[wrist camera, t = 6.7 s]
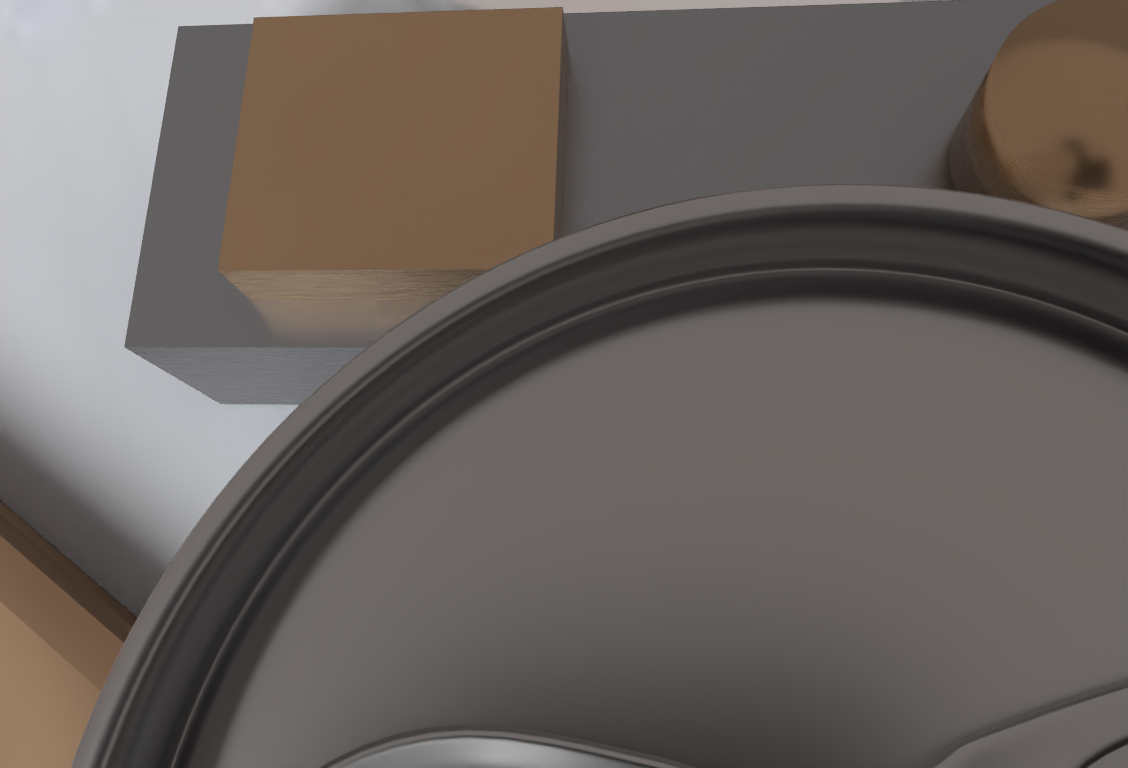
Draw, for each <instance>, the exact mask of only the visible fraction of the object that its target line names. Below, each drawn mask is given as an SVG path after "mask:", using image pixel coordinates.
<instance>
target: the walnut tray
mask: <svg viewBox="0 0 1128 768" xmlns="http://www.w3.org/2000/svg"><path fill="white" fill-rule="evenodd" d="M136 620H137V618H136V617H135V616H134V615H133V614H132V613H131V612H129V611H128V610H127V609H126V608H125V607H124V606H122V605H121V604H120V603H119V602H118V601H117V600H115V599H114V598H113V597H112V596H111V595H110V594H108V593H107V592H106V591H105V590H104V589H103V588H101V587H100V586H99V585H98V584H97V583H96V582H94V581H93V580H92V579H91V578H90V577H89V576H87V575H86V574H85V573H84V572H83V571H82V570H80V569H79V568H78V567H77V566H76V565H75V564H73V563H72V562H71V561H70V560H69V559H68V558H66V557H65V556H64V555H63V554H62V553H61V552H59V551H58V550H57V549H56V548H55V547H54V546H52V545H51V544H50V543H49V542H48V541H47V540H45V539H44V538H43V537H42V536H41V535H40V534H38V533H37V532H36V531H35V530H34V529H33V528H31V527H30V526H29V525H28V524H27V523H26V522H24V521H23V520H22V519H21V518H20V517H19V516H17V515H16V514H15V513H14V512H13V511H12V510H10V509H9V508H8V507H7V506H6V505H5V504H3V503H2V502H1V501H0V768H71V765H72V762H73V760H74V757H75V754H76V751H77V748H78V746H79V743H80V741H81V738H82V736H83V733H84V731H85V728H86V726H87V723H88V721H89V718H90V716H91V713H92V711H93V708H94V706H95V704H96V702H97V699H98V697H99V695H100V693H101V691H102V688H103V686H104V684H105V682H106V679H107V677H108V675H109V673H110V671H111V668H112V666H113V664H114V662H115V660H116V658H117V656H118V654H119V652H120V650H121V648H122V646H123V645H124V643H125V641H126V639H127V637H128V635H129V633H130V631H131V629H132V627H133V625H134V623H135V622H136Z"/></svg>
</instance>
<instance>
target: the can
mask: <svg viewBox="0 0 1128 768" xmlns="http://www.w3.org/2000/svg"><path fill="white" fill-rule="evenodd" d="M71 768H1128V230H1126V229H1123V228H1120V227H1117V226H1113V225H1110V224H1107V223H1104V222H1101V221H1097V220H1094V219H1091V218H1087V217H1083V216H1080V215H1076V214H1072V213H1068V212H1065V211H1061V210H1057V209H1053V208H1049V207H1044V206H1040V205H1035V204H1031V203H1026V202H1022V201H1017V200H1012V199H1006V198H1000V197H995V196H989V195H984V194H977V193H970V192H963V191H955V190H948V189H938V188H928V187H917V186H904V185H885V184H813V185H794V186H781V187H769V188H760V189H752V190H744V191H736V192H728V193H723V194H717V195H711V196H705V197H699V198H694V199H689V200H684V201H680V202H675V203H671V204H666V205H661V206H658V207H654V208H650V209H646V210H642V211H639V212H635V213H631V214H627V215H624V216H621V217H618V218H614V219H611V220H608V221H605V222H602V223H598V224H595V225H592V226H590V227H587V228H584V229H581V230H579V231H576V232H573V233H570V234H568V235H565V236H562V237H560V238H557V239H555V240H552V241H550V242H548V243H545V244H543V245H540V246H538V247H535V248H533V249H531V250H528V251H526V252H524V253H522V254H520V255H518V256H516V257H513V258H511V259H509V260H507V261H505V262H503V263H501V264H499V265H496V266H495V267H493V268H491V269H489V270H487V271H485V272H483V273H481V274H479V275H477V276H476V277H474V278H472V279H470V280H468V281H466V282H464V283H463V284H461V285H459V286H457V287H456V288H454V289H452V290H451V291H449V292H447V293H446V294H444V295H442V296H440V297H439V298H437V299H435V300H434V301H432V302H431V303H429V304H428V305H426V306H424V307H423V308H421V309H420V310H418V311H417V312H415V313H414V314H412V315H411V316H409V317H407V318H406V319H404V320H403V321H402V322H400V323H399V324H397V325H396V326H395V327H393V328H392V329H390V330H389V331H388V332H386V333H385V334H383V335H382V336H381V337H379V338H378V339H376V340H375V341H374V342H373V343H371V344H370V345H369V346H368V347H366V348H365V349H364V350H362V351H361V352H360V353H359V354H357V355H356V356H355V357H353V358H352V359H351V360H350V361H348V362H347V363H346V364H345V365H344V366H342V367H341V368H340V369H339V370H338V371H337V372H336V373H334V374H333V375H332V376H331V377H330V378H329V379H327V380H326V381H325V382H324V383H323V384H322V385H320V386H319V387H318V388H317V389H316V390H315V391H314V392H313V393H312V394H311V395H310V396H309V397H308V398H307V399H305V400H304V401H303V402H302V403H301V404H300V405H299V406H298V407H297V408H296V409H295V410H294V411H293V412H292V413H291V414H290V415H289V416H288V417H287V418H286V419H285V420H284V421H283V422H282V423H281V424H280V425H279V426H278V427H277V428H276V429H275V430H274V431H273V432H272V433H271V434H270V435H269V436H268V437H267V438H266V440H265V441H264V442H263V443H262V444H261V445H260V446H259V447H258V449H257V450H256V451H255V452H254V453H253V454H252V455H251V456H250V458H249V459H248V460H247V461H246V462H245V463H244V464H243V465H242V467H241V468H240V469H239V470H238V471H237V473H236V474H235V475H234V476H233V478H232V479H231V480H230V481H229V483H228V484H227V485H226V486H225V487H224V489H223V490H222V491H221V492H220V494H219V495H218V496H217V497H216V499H215V500H214V501H213V503H212V504H211V505H210V507H209V508H208V509H207V511H206V512H205V513H204V515H203V516H202V517H201V519H200V520H199V522H198V523H197V524H196V526H195V527H194V528H193V530H192V531H191V533H190V534H189V536H188V537H187V539H186V540H185V542H184V543H183V545H182V546H181V547H180V549H179V550H178V552H177V553H176V555H175V556H174V558H173V559H172V561H171V562H170V564H169V566H168V567H167V569H166V571H165V572H164V574H163V575H162V577H161V579H160V580H159V582H158V583H157V585H156V587H155V588H154V590H153V592H152V593H151V595H150V597H149V598H148V600H147V602H146V604H145V606H144V607H143V609H142V611H141V613H140V615H139V616H138V618H137V620H136V622H135V623H134V625H133V627H132V629H131V631H130V633H129V635H128V637H127V639H126V641H125V643H124V645H123V646H122V648H121V650H120V652H119V654H118V656H117V658H116V660H115V662H114V664H113V666H112V668H111V671H110V673H109V675H108V677H107V679H106V682H105V684H104V686H103V688H102V691H101V693H100V695H99V697H98V699H97V702H96V704H95V706H94V708H93V711H92V713H91V716H90V718H89V721H88V723H87V726H86V728H85V731H84V733H83V736H82V738H81V741H80V743H79V746H78V748H77V751H76V754H75V757H74V760H73V762H72V765H71Z"/></svg>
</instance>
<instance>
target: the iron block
mask: <svg viewBox="0 0 1128 768" xmlns="http://www.w3.org/2000/svg"><path fill="white" fill-rule="evenodd" d="M813 184H885V185H904V186H917V187H928V188H938V189H948V190H955V191H963V192H970V193H977V194H984V195H989V196H995V197H1000V198H1006V199H1012V200H1017V201H1022V202H1026V203H1031V204H1035V205H1040V206H1044V207H1049V208H1053V209H1057V210H1061V211H1065V212H1068V213H1072V214H1076V215H1080V216H1083V217H1087V218H1091V219H1094V220H1097V221H1101V222H1104V223H1107V224H1110V225H1113V226H1117V227H1120V228H1123V229H1126V230H1128V0H958V1H928V2H898V3H871V4H870V3H869V4H840V5H839V4H838V5H808V6H779V7H749V8H748V7H747V8H717V9H689V10H657V11H627V12H598V13H597V12H596V13H567V14H564V13H563V8H562V7H554V8H524V9H494V10H465V11H435V12H406V13H376V14H347V15H317V16H288V17H258V18H254V22H253V24H235V25H205V26H179V27H178V33H177V38H176V44H175V50H174V56H173V62H172V68H171V74H170V80H169V86H168V92H167V98H166V104H165V110H164V116H163V122H162V127H161V133H160V139H159V145H158V151H157V157H156V163H155V169H154V175H153V181H152V187H151V193H150V199H149V205H148V211H147V216H146V222H145V228H144V234H143V240H142V246H141V252H140V258H139V264H138V270H137V276H136V282H135V288H134V294H133V300H132V305H131V311H130V317H129V323H128V329H127V335H126V341H125V348H127V349H128V350H130V351H132V352H133V353H135V354H137V355H139V356H140V357H142V358H144V359H145V360H147V361H149V362H150V363H152V364H154V365H156V366H157V367H159V368H161V369H162V370H164V371H166V372H167V373H169V374H171V375H172V376H174V377H176V378H178V379H179V380H181V381H183V382H184V383H186V384H188V385H189V386H191V387H193V388H195V389H196V390H198V391H200V392H201V393H203V394H205V395H206V396H208V397H210V398H212V399H213V400H215V401H217V402H218V403H220V404H301V403H302V402H303V401H304V400H305V399H307V398H308V397H309V396H310V395H311V394H312V393H313V392H314V391H315V390H316V389H317V388H318V387H319V386H320V385H322V384H323V383H324V382H325V381H326V380H327V379H329V378H330V377H331V376H332V375H333V374H334V373H336V372H337V371H338V370H339V369H340V368H341V367H342V366H344V365H345V364H346V363H347V362H348V361H350V360H351V359H352V358H353V357H355V356H356V355H357V354H359V353H360V352H361V351H362V350H364V349H365V348H366V347H368V346H369V345H370V344H371V343H373V342H374V341H375V340H376V339H378V338H379V337H381V336H382V335H383V334H385V333H386V332H388V331H389V330H390V329H392V328H393V327H395V326H396V325H397V324H399V323H400V322H402V321H403V320H404V319H406V318H407V317H409V316H411V315H412V314H414V313H415V312H417V311H418V310H420V309H421V308H423V307H424V306H426V305H428V304H429V303H431V302H432V301H434V300H435V299H437V298H439V297H440V296H442V295H444V294H446V293H447V292H449V291H451V290H452V289H454V288H456V287H457V286H459V285H461V284H463V283H464V282H466V281H468V280H470V279H472V278H474V277H476V276H477V275H479V274H481V273H483V272H485V271H487V270H489V269H491V268H493V267H495V266H496V265H499V264H501V263H503V262H505V261H507V260H509V259H511V258H513V257H516V256H518V255H520V254H522V253H524V252H526V251H528V250H531V249H533V248H535V247H538V246H540V245H543V244H545V243H548V242H550V241H552V240H555V239H557V238H560V237H562V236H565V235H568V234H570V233H573V232H576V231H579V230H581V229H584V228H587V227H590V226H592V225H595V224H598V223H602V222H605V221H608V220H611V219H614V218H618V217H621V216H624V215H627V214H631V213H635V212H639V211H642V210H646V209H650V208H654V207H658V206H661V205H666V204H671V203H675V202H680V201H684V200H689V199H694V198H699V197H705V196H711V195H717V194H723V193H728V192H736V191H744V190H752V189H760V188H769V187H781V186H794V185H813Z"/></svg>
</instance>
